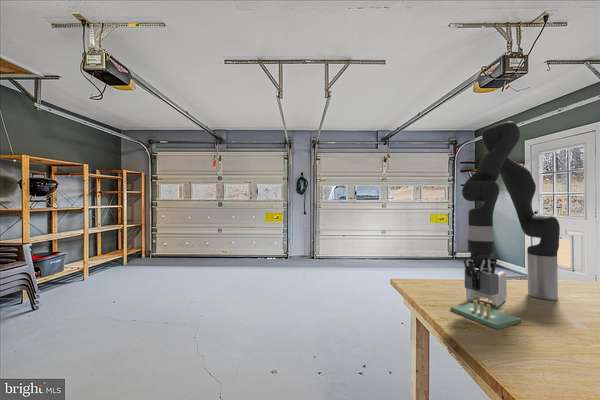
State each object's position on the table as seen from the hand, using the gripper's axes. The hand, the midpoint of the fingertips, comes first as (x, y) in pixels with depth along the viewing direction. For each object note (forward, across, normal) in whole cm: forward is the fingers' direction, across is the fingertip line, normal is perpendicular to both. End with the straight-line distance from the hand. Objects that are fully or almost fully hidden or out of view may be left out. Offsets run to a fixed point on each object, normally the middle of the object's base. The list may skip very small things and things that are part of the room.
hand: (480, 288), depth 93 cm
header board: (+10, -1, 0) cm, 10 cm away
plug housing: (+1, 0, 0) cm, 1 cm away
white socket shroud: (+10, -16, -9) cm, 21 cm away
